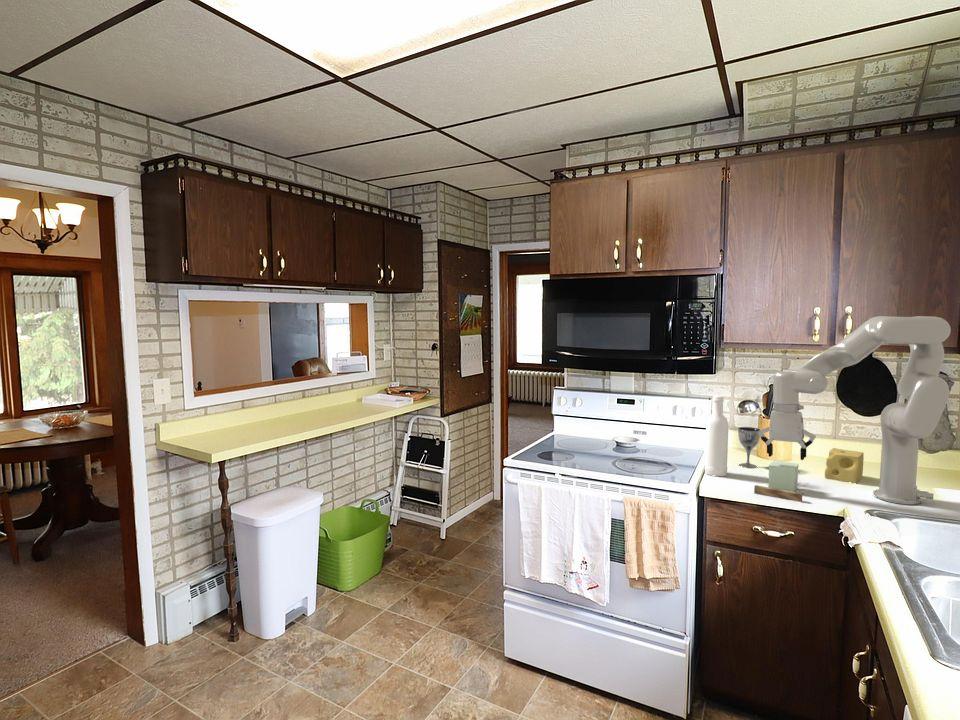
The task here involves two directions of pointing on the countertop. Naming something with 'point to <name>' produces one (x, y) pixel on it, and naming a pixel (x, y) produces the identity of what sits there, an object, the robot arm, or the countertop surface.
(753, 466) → the wine glass
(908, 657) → the countertop surface
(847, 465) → the cheese
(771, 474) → the pale green cube
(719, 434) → the bottle
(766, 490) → the brown wooden bar
